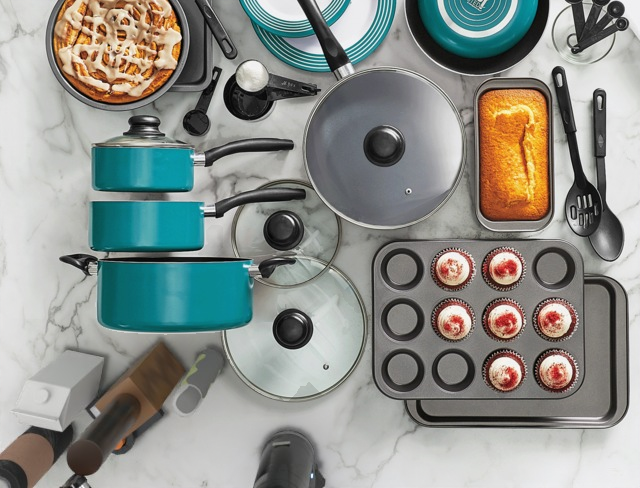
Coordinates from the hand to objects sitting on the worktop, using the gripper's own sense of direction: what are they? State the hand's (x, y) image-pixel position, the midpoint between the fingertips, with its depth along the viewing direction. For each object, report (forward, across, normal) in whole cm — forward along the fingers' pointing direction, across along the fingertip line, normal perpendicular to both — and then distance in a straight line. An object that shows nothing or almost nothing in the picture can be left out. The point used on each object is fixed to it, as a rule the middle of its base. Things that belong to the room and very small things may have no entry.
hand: (79, 479), depth 96 cm
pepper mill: (+9, +7, +3) cm, 11 cm away
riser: (+27, +7, +3) cm, 28 cm away
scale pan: (+23, -2, +2) cm, 23 cm away
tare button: (+24, -6, -2) cm, 25 cm away
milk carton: (+27, -4, +11) cm, 29 cm away
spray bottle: (+27, +15, -2) cm, 31 cm away
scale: (+27, -3, +1) cm, 27 cm away
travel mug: (+27, -16, +6) cm, 31 cm away
